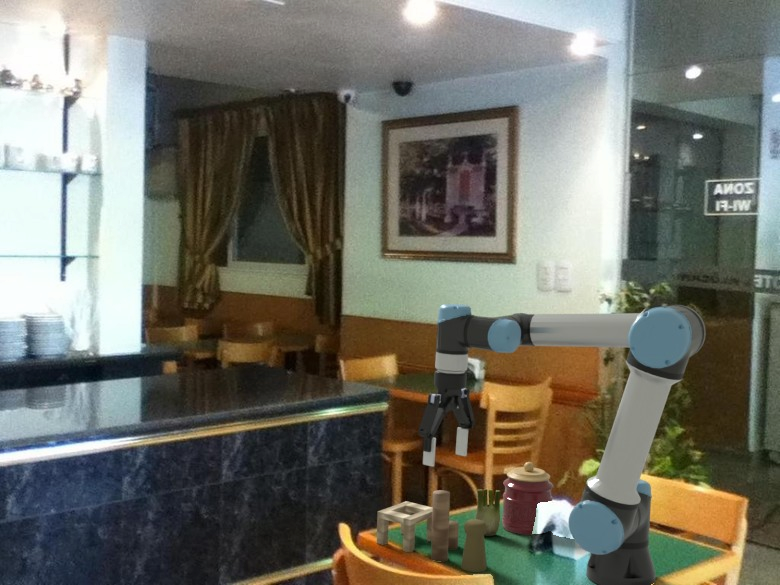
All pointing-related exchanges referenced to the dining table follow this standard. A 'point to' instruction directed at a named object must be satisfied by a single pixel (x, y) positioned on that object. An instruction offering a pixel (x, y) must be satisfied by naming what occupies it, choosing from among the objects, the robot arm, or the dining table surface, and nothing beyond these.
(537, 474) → the canister
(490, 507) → the fennel bulb
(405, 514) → the open square stand
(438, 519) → the long pin
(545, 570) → the dining table surface
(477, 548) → the olive tapered knobbed peg
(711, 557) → the dining table surface
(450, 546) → the short pin
